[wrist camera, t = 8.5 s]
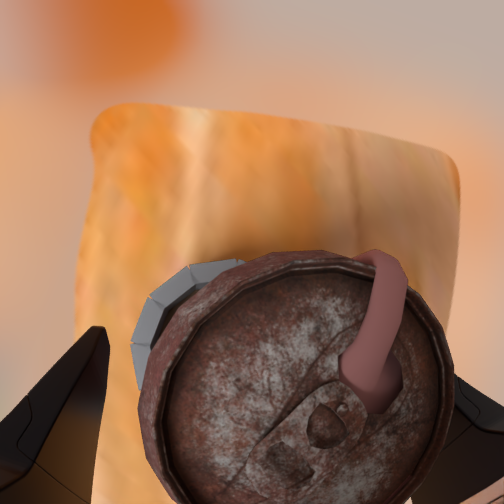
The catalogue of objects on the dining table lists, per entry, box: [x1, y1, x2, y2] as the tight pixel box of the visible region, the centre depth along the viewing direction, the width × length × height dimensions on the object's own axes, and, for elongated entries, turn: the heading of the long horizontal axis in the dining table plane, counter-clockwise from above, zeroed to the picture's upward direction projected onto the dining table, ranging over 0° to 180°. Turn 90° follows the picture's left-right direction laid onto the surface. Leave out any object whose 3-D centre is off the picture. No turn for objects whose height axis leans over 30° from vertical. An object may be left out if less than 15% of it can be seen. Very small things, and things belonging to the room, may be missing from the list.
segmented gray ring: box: [130, 259, 247, 390], centre depth 17 cm, size 10×10×4 cm
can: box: [138, 250, 454, 504], centre depth 11 cm, size 6×6×14 cm
